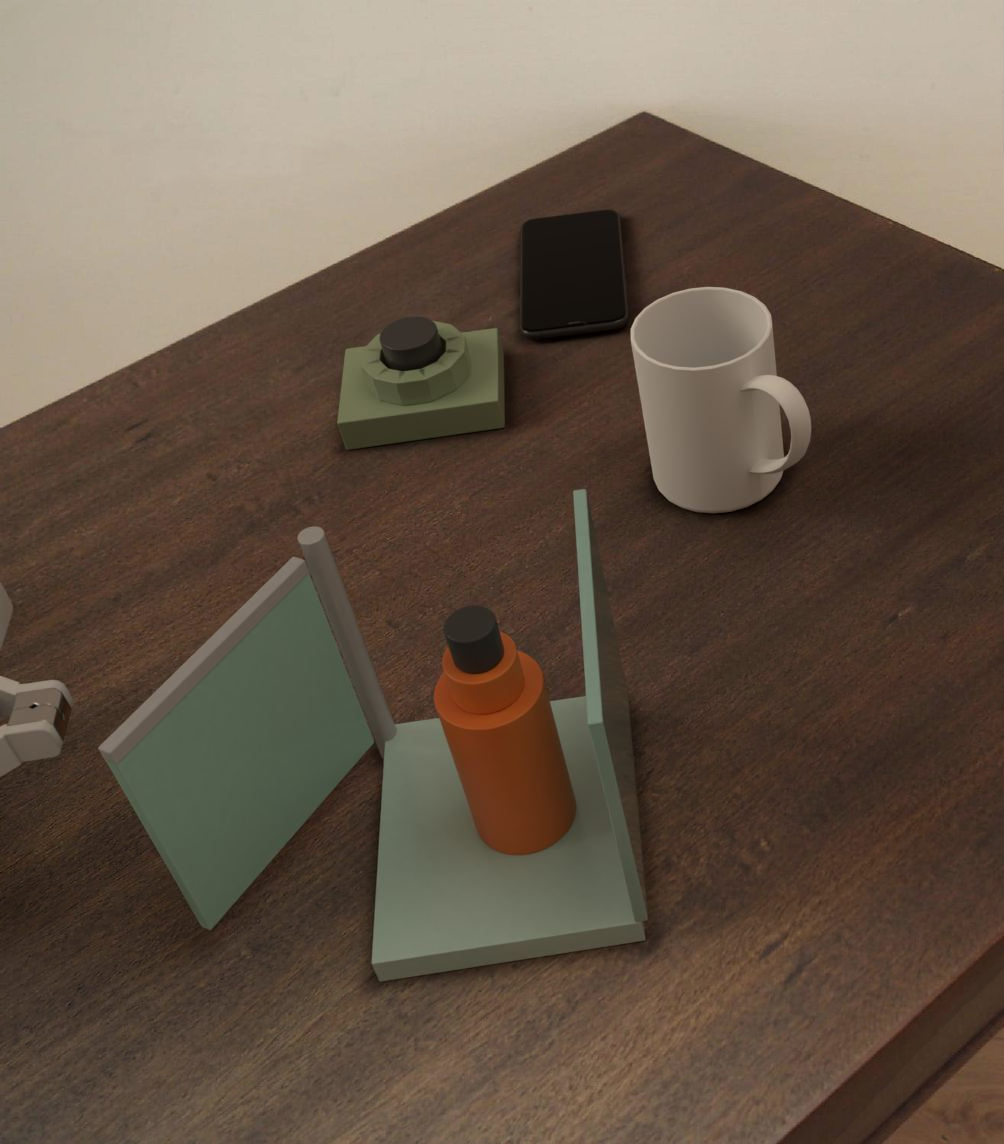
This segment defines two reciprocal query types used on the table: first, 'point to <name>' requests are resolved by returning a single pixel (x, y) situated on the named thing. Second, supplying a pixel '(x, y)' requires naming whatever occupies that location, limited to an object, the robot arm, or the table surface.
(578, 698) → the shower
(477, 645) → the shampoo bottle
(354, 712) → the shower door
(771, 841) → the table surface
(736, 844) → the table surface
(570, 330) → the smartphone
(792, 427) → the mug
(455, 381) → the control block
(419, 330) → the button
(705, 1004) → the table surface
